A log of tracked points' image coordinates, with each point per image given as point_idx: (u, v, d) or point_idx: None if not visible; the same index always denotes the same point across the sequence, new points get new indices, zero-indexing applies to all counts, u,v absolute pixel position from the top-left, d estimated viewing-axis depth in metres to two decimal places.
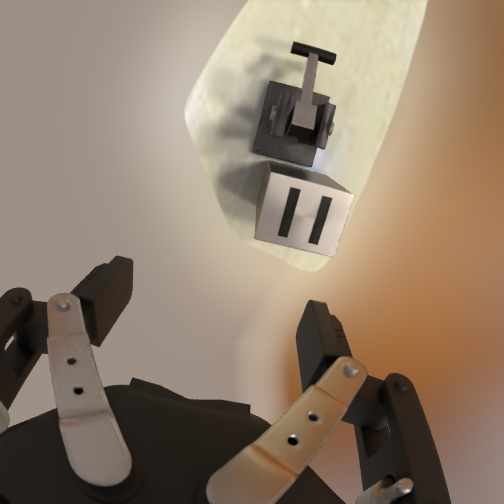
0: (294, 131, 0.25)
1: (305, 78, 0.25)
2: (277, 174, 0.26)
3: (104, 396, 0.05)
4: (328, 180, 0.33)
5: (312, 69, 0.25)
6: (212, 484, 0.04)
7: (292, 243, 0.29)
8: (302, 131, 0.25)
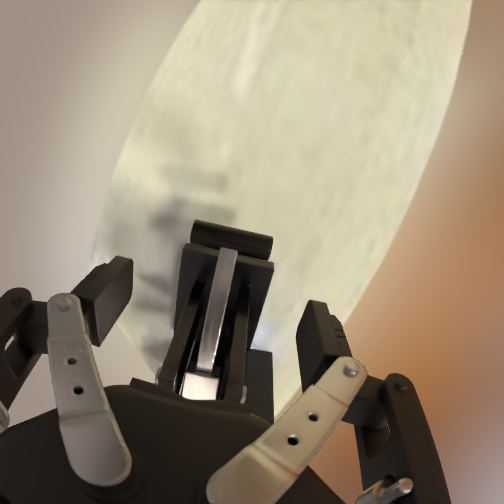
0: None
1: (207, 315, 0.17)
2: None
3: (104, 396, 0.05)
4: (260, 391, 0.25)
5: (221, 292, 0.18)
6: (212, 484, 0.04)
7: None
8: None
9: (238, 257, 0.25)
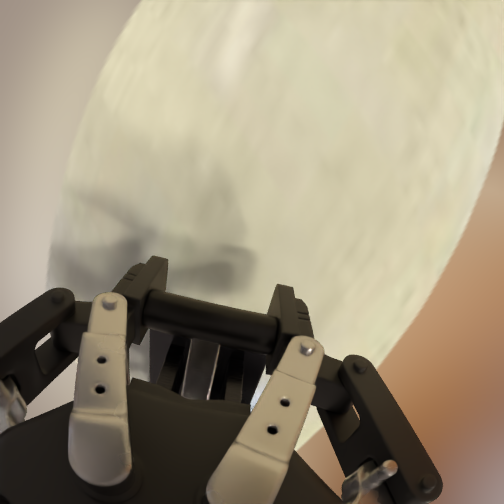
0: None
1: None
2: None
3: (124, 401, 0.05)
4: None
5: None
6: (212, 484, 0.04)
7: None
8: None
9: None
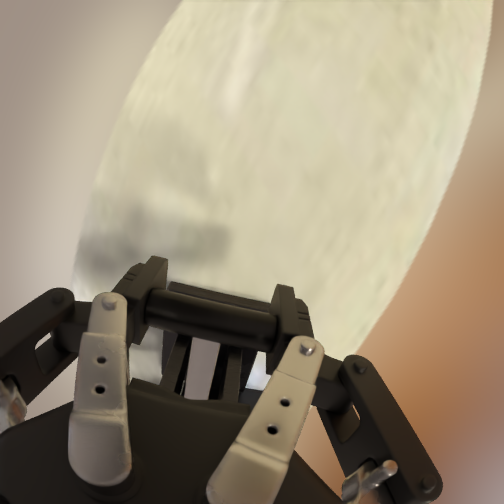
0: None
1: None
2: None
3: (124, 400, 0.05)
4: None
5: (200, 386, 0.12)
6: (212, 484, 0.04)
7: None
8: None
9: (230, 298, 0.22)
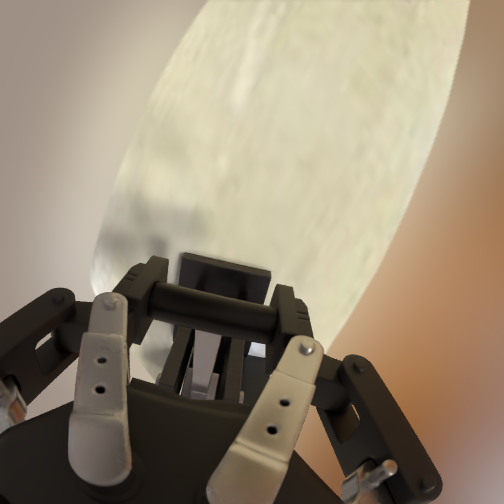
0: None
1: (193, 369, 0.14)
2: None
3: (125, 400, 0.05)
4: (258, 396, 0.25)
5: (206, 359, 0.13)
6: (212, 484, 0.04)
7: None
8: None
9: (236, 266, 0.26)
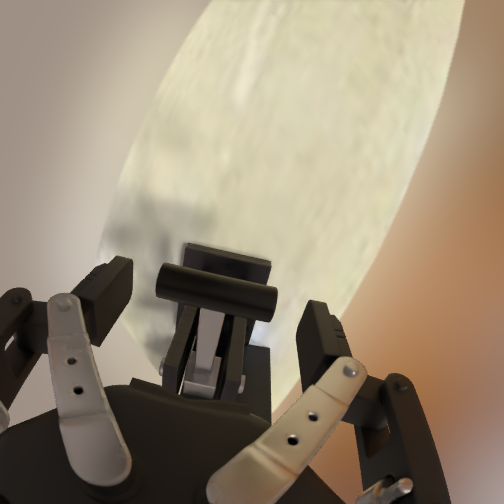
0: None
1: (197, 350, 0.15)
2: None
3: (104, 396, 0.05)
4: (258, 384, 0.26)
5: (209, 339, 0.14)
6: (212, 484, 0.04)
7: None
8: None
9: (237, 256, 0.27)
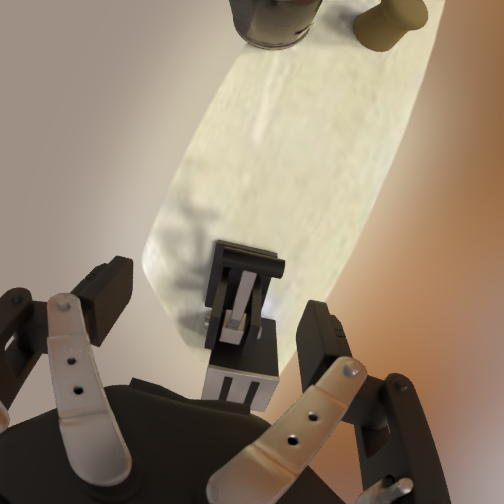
0: None
1: (236, 302, 0.26)
2: (213, 369, 0.31)
3: (104, 396, 0.05)
4: (268, 343, 0.37)
5: (245, 292, 0.25)
6: (212, 484, 0.04)
7: None
8: None
9: (253, 249, 0.38)
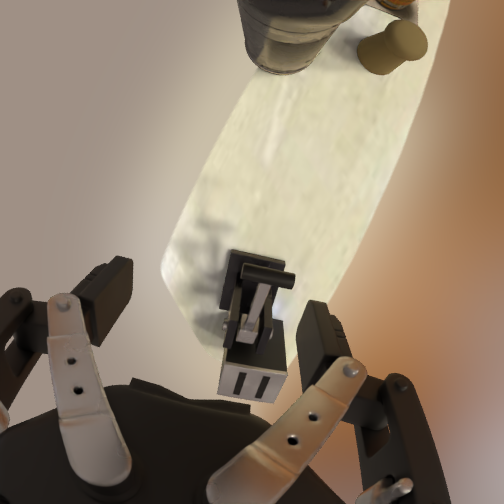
0: None
1: (252, 308, 0.31)
2: (229, 365, 0.35)
3: (104, 396, 0.05)
4: (276, 342, 0.42)
5: (260, 300, 0.29)
6: (212, 484, 0.04)
7: (243, 397, 0.38)
8: None
9: (264, 257, 0.42)
